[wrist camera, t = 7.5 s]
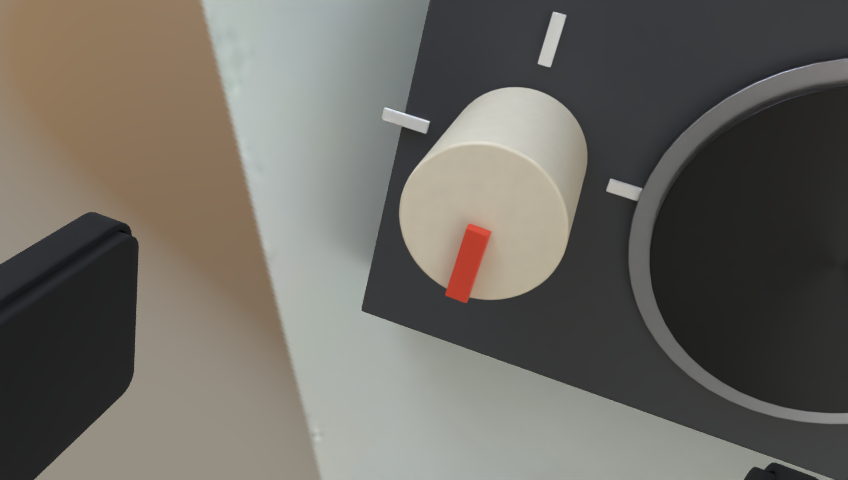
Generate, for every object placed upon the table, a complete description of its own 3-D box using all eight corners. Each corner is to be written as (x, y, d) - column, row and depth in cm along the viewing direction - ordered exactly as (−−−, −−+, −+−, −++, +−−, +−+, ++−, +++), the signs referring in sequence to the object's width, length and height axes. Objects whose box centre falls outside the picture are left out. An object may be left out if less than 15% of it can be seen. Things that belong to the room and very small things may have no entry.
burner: (1184, 131, 18) (1200, 139, 17) (933, 468, 23) (939, 482, 22) (716, 1, 19) (717, 5, 19) (579, 345, 24) (577, 355, 24)
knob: (470, 67, 21) (417, 121, 17) (608, 113, 21) (593, 182, 16) (434, 192, 23) (377, 272, 19) (560, 237, 23) (534, 331, 18)
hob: (1174, 42, 19) (1245, 67, 17) (887, 452, 26) (910, 510, 23) (460, -145, 22) (436, -147, 19) (368, 271, 28) (342, 307, 26)
